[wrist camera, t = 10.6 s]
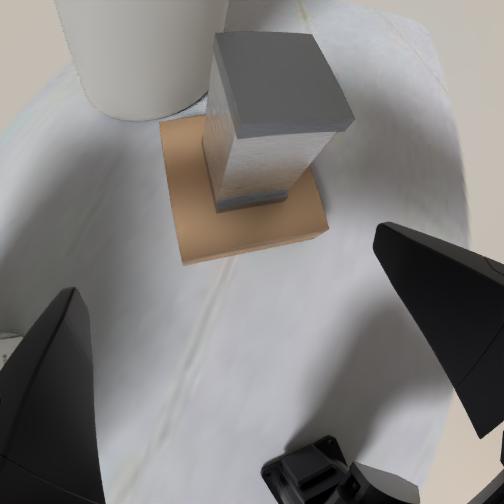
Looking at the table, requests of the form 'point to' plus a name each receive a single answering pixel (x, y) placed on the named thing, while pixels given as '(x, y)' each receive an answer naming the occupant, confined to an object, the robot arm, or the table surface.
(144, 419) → the table surface
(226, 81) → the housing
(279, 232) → the stand
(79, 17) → the cylinder vase
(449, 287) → the robot arm
